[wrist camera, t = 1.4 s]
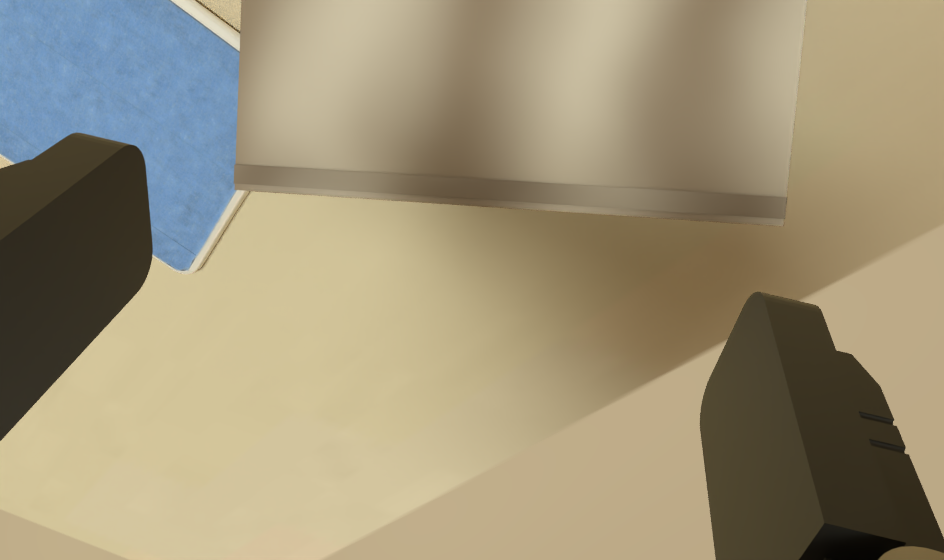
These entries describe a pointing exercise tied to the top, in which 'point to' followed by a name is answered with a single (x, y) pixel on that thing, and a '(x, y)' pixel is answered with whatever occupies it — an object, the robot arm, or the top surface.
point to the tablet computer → (132, 102)
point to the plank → (524, 103)
